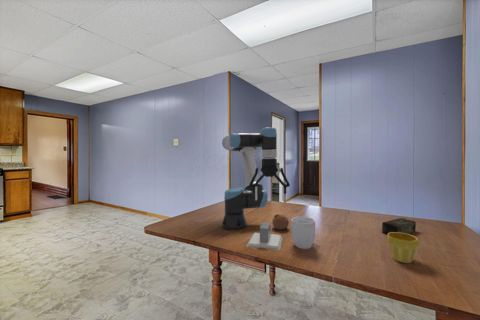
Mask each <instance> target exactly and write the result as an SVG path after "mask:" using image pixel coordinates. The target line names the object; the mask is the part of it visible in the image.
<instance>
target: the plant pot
mask: <svg viewBox="0 0 480 320" xmlns="http://www.w3.org/2000/svg"><path fill="white" fill-rule="evenodd" d="M386 235H387V243H388V244H389V248H390V251H391V255H392V259H394V261H396V262H399V263H403V264H411V263H412V262H413V261H414V256H415V253H416V250H417V249H418V247H419V239H418V237H416V236H415V235H412V234H411V233H409V234H406V233H400V232H391V233H388V234H386Z"/></svg>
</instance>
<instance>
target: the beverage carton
mask: <svg viewBox="0 0 480 320" xmlns="http://www.w3.org/2000/svg"><path fill="white" fill-rule="evenodd" d="M416 223H417V221H415V220H411V219H408V218H405V217H400V218H395V219H390V220H387V221H383V222H382V223H381V224H382V226H381V228H382V229H381V233H382V234H385V235H387V234H388V233H391V232H400V233H406V234H411V233H414V232H416V228H417V227H416Z"/></svg>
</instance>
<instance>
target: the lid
mask: <svg viewBox="0 0 480 320" xmlns="http://www.w3.org/2000/svg"><path fill="white" fill-rule="evenodd" d="M253 234H254V235H253ZM253 234H252V235H253V236H252V235H251V237H252V238H251V237H250V239H251V240H250V239H249V241H250V242H249V241H248V242H249V246H257V247H266V248H276V249H278V246H279V242H280V238H281V237H282V236H281V234H274V233H272V234H271V222H267V221H266V222H265V221H262V223H260V226H259V232H254V233H253ZM266 248H265V249H266ZM276 249H275V250H276Z"/></svg>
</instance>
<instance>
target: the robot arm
mask: <svg viewBox="0 0 480 320" xmlns="http://www.w3.org/2000/svg"><path fill="white" fill-rule="evenodd" d="M277 137H278V134H277V129H276V127H263V128H262V129H261V132H260V133H257V132H256V133H255V132H253V133H252V132H247V133H245V132H244V133H243V132H241V133H240V132H239V133H238V132H234V133H233V132H232V133H230V134H229V135H226V136H225V137H223V139H222V141H221V144H222V147H223V148H224V149H225V150H227V151H230V152H238V154H239V155H240V156H241V159H242V165H243V166H242V167H243V171H244V177H245V184H246V185H245V187H244V188H243V187H232V188H229V189H227V190H225V191H224V195H223V196H224V198H223V199H224V215H223V219H222V223H221V226H222V229H223V230H226V231H239V230H243V229H246V228H247V226H248V223H247V220H246V216H245V214H244V213H245V210H246V209H247V210H249V209H261V208H264V207H265V206H267V203H268V197H269V195H268V190H267V189H266V188H264V186H263V184H262V183H260V182H261V180H262V179H263V178H264V177H266V178H270V177H271V178H274V177H275V178H276V180H277V181H278V182H279V184H281V186H282V187H281V189H282V190H281V191H282V193H281V194H282V197H281V198H282V199H281V201H282V202H284V201H285V195H287V188H288V187H290V186H291V184H290V182H289V180H288V179H287V176H286V174H285V173H284V168H283V167H280V168H278V166H277V165H278V163H277V162H278V160H277V158H278V156H277V155H278V153H277V151H278V149H277ZM258 148H261V158H262V159H261V168H259V167H257V164H256V158H255V153H256V151H257V149H258ZM260 172H261V173H262V174H261V175H260V176H259V173H260ZM277 172H279V173H280V174H281V176H282V177H283V179H284V181H285V183H284V181H283V180H282V179H281V178H280V177H279V175H278V174H277Z"/></svg>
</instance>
